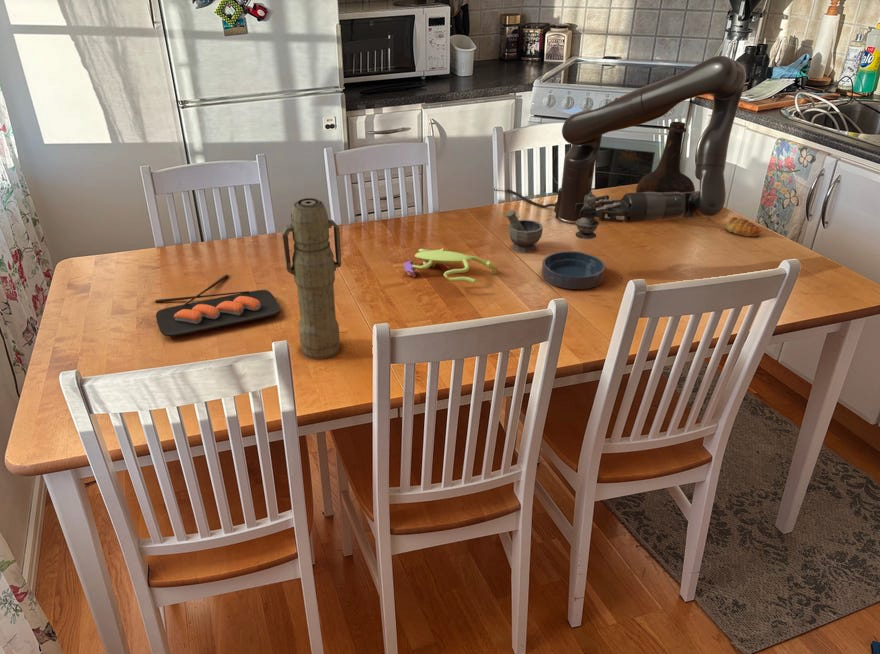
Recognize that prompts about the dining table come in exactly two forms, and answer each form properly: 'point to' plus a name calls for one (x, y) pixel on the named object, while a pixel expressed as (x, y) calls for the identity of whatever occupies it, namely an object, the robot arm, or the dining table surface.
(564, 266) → the bowl
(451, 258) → the figurine
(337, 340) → the thermos
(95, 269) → the dining table surface
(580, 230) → the salt shaker
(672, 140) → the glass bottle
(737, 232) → the pastry
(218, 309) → the sushi plate
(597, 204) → the robot arm
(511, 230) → the mortar and pestle
